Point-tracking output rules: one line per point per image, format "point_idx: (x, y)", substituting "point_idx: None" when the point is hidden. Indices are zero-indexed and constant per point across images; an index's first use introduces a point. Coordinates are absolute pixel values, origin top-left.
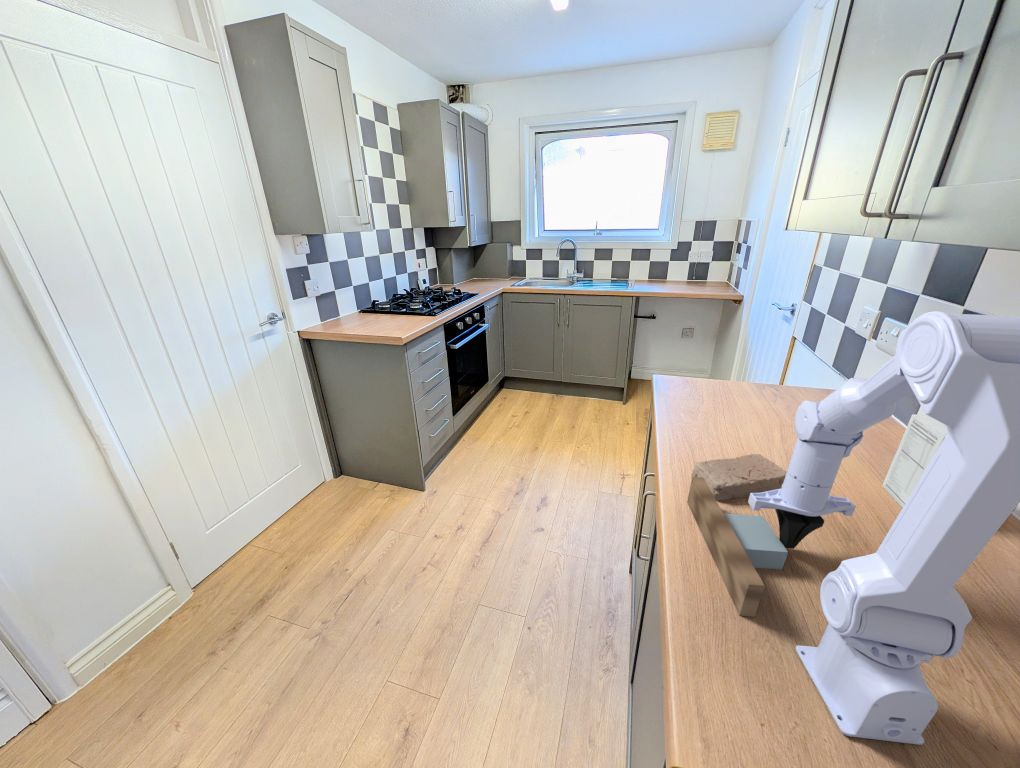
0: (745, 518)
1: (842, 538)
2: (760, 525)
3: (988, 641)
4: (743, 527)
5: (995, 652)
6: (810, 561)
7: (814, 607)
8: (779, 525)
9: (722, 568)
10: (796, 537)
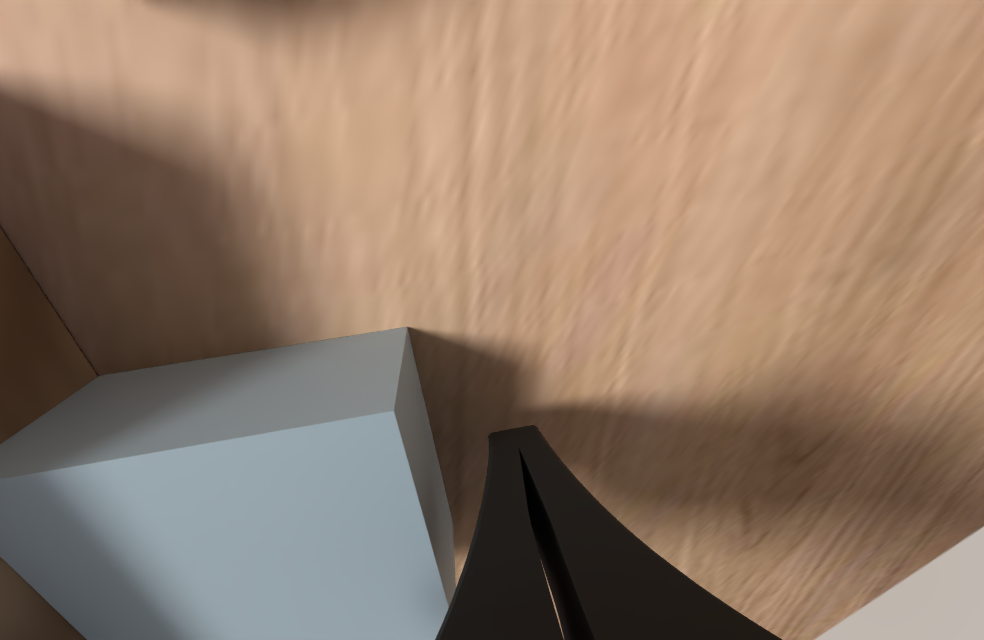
0: (235, 475)
1: (866, 256)
2: (348, 513)
3: (887, 569)
4: (214, 566)
5: (869, 589)
6: (596, 452)
7: None
8: (482, 508)
9: None
10: (547, 578)
